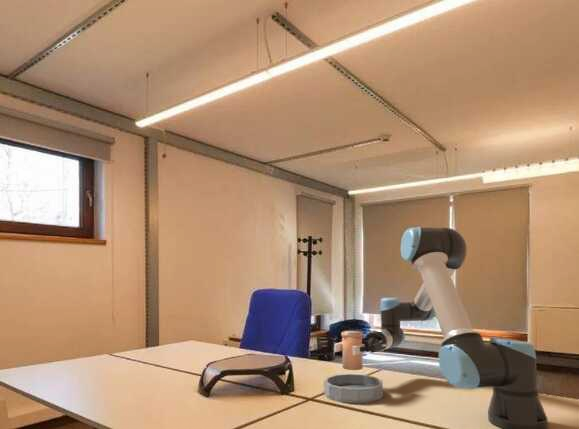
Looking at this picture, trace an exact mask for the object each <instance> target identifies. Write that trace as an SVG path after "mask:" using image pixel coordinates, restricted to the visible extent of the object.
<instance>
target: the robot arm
mask: <svg viewBox="0 0 579 429" xmlns="http://www.w3.org/2000/svg"><path fill="white" fill-rule="evenodd" d="M465 240H466V239H464V237H463V236H462V235H461V233H460V232H458V231H457V230H456V229H453V228H450V227H420V226H417V227H409V228H408V229H406V230H405V231H404V233H403V234H402V237H401V242H400V255H401V258H402V259H403V261H406V262H407V263H409V262H411V265H412V268H413V270H415V271H416V272H418V273H420V276H421V278H422V281H423V282H422V284H421V287H420V288H419V290H418V292H417V294H416V296H415V298H414V300H412V302H411V301H407V302H406V301H405V302H404V301H402V302H401V301H400V298H398V297H383V298H381V299H380V307H379V308H380V309H379V310H380V329H378V330H377V329H376V330H373V331H369V332H368V333H367V334H365V336H362V344H361V345H357V346H353V355H356V354H360V353H362V354H363V353H365V352H366V353H369V352H371V353H372V354H374V353H377V352H378V353H379V352H384V350H388V349H391V348H395V347H396V348H397V347H398V346H400V345H402V344H403V343H404V342H405V338H406V335H405V331H404V330H403V329H402V328H401V322H427V321H431V320H433V319H434V317H436V319H437V322H438V325H439V328H440V330H441V333H442V336H443V340H442V341H441V344H440V345H441V347H440V349H439V351H438V355H437V356H438V359H439V360H438V364H439V369H440V371H441V373H442V375H443V377H444V379H446V381H447V382H448V383H449V384H450V385H451V386H453V387H455V388H457V389H466V390H467V389H468V390H475V389H478V388H479V389H480V388H492V395H491V398H490V401H489V402H490V403H489V406H488V409H487V419H488V421H489V423H491V424H492V425H494V426H496V427H499V428H501V429H549V420H548V416H547V414H546V412H545V409H544V407H543V404H542V402H541V399H540V395H539V384H538V383H539V381H538V365H537V360H538V359H537V357H536V355H537V354H536V348H535V346H534V345H533V344H532V343H530V342H527V341H522V340H518V339H511V338H505V337H496V336H495V337H494V336H492V337H490V338H489V341H488V342H489V343H485V341H484V338H483V336H482V335H481V333H480V332H479V331H476V330H475V329H473V327H472V324H471V322H470V319H469V318H468V314H467V312H466V310H465V308H464V307H465V306H464V305H463V303H462V300H461V298H460V295H459V293H458V291H457V289H456V286H455V283H454V281H453V279H452V277H453V275H454V273H455V272H456V270H459V269H460V268H461V267H462V265H463V264H464V263H465V260H466V258H467V253H468V247H467V243H466V241H465ZM333 345H334V346H333V347H334V348H333V349H334V350H333V351H334V352H335V353H338V352H342V339H341V340H339V342H336V343H334V344H333Z"/></svg>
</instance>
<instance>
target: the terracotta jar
mask: <svg viewBox="0 0 579 429" xmlns="http://www.w3.org/2000/svg"><path fill="white" fill-rule="evenodd" d="M340 333H341V334H340V335H341V337H342V338H341V340H342V351H341V352H342V369H344V370H349V371H359V370H363V369H364V366H363V364H364V363H363V362H364V361H363V359H364V358H363V353H360V354H356V355H353V346H357V345H361V344H362V338H363V337H364V333H363V332H362V331H359V330H344V331H342V332H340Z"/></svg>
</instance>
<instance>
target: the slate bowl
mask: <svg viewBox="0 0 579 429" xmlns="http://www.w3.org/2000/svg"><path fill="white" fill-rule="evenodd" d="M383 383H384V382H383V379H382V380H381V379H380V378H378V377H376V376H372V375H371V376H370V375H367V374H360V373H359V374H356V373H345V374H344V373H343V374H333V375H331V376H327V377H325V379H324V380H323V393H324V395H325V397H326V398H327V399H329V400H331V401H334V402H339V403H346V404H368V403H369V404H370V403H374V402H378V401H380V400H381V399H382V398H383V397H384V396H383V395H384V393H383V392H384V389H383V388H384V387H383V386H384V384H383Z"/></svg>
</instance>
